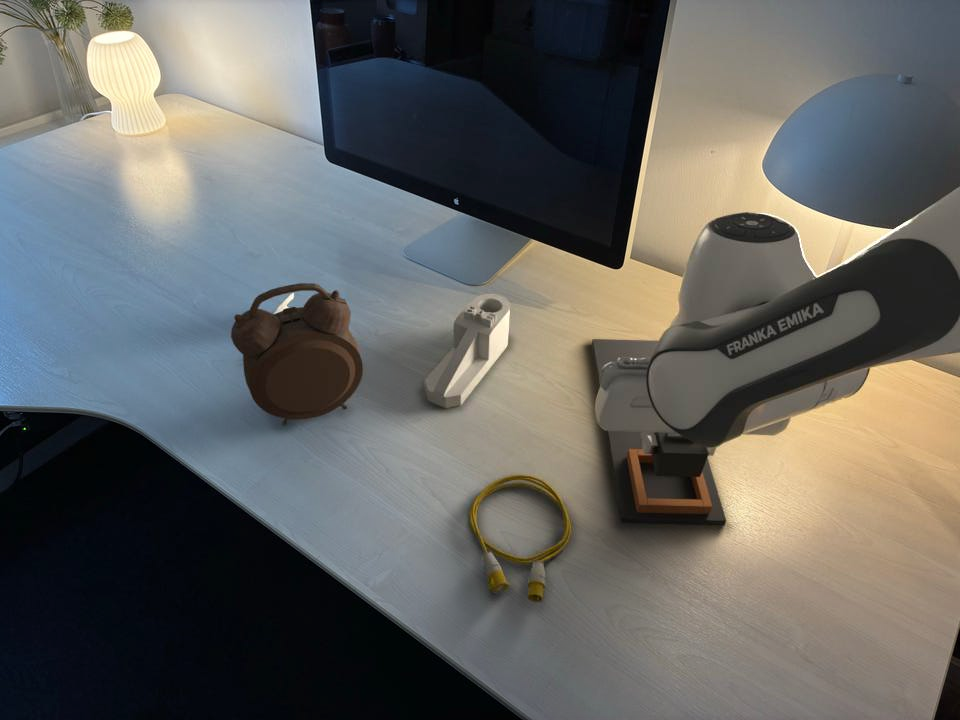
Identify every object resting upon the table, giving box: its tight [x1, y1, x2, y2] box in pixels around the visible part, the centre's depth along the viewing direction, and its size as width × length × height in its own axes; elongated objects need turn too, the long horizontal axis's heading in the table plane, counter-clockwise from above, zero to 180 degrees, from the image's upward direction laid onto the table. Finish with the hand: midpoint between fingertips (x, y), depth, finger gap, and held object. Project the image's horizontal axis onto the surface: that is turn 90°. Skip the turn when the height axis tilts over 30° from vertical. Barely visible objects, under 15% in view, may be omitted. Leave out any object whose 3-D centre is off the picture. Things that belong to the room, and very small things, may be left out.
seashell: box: [272, 292, 295, 315], centre depth 102 cm, size 8×5×8 cm
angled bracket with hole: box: [424, 293, 511, 409], centre depth 96 cm, size 6×18×8 cm, turn 152°
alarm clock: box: [230, 282, 364, 427], centre depth 85 cm, size 14×7×20 cm, turn 113°
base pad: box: [591, 338, 727, 527], centre depth 90 cm, size 32×12×2 cm, turn 179°
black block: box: [651, 432, 709, 477], centre depth 77 cm, size 5×5×4 cm
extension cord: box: [468, 474, 572, 603], centre depth 77 cm, size 12×16×2 cm
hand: (677, 450), depth 78 cm, fingers closed on black block, 5 cm apart
